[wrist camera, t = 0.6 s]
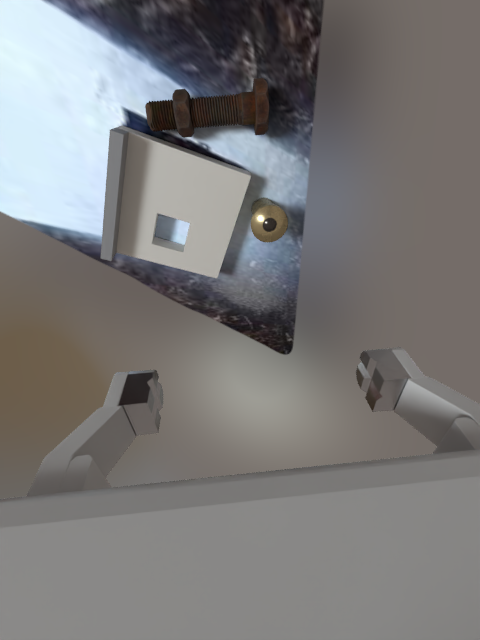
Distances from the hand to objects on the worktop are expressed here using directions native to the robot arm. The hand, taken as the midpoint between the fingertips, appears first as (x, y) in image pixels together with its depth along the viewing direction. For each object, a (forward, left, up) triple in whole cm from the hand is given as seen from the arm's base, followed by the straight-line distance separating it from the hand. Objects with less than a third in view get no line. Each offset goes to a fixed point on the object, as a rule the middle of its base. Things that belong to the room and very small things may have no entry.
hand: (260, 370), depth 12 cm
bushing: (+4, +8, -40) cm, 41 cm away
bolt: (-6, -4, -41) cm, 41 cm away
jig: (+8, -5, -40) cm, 41 cm away
